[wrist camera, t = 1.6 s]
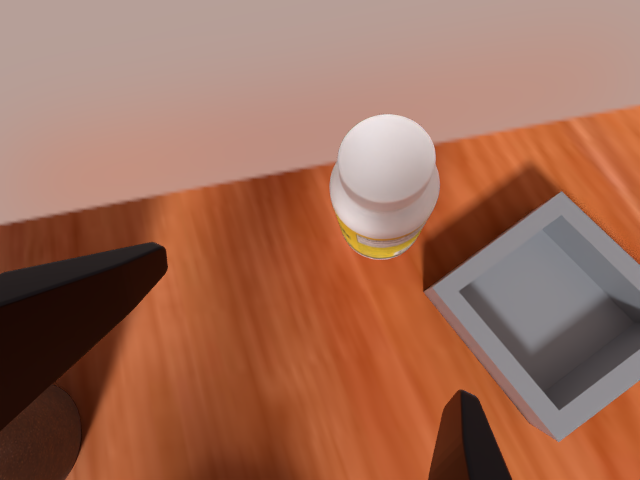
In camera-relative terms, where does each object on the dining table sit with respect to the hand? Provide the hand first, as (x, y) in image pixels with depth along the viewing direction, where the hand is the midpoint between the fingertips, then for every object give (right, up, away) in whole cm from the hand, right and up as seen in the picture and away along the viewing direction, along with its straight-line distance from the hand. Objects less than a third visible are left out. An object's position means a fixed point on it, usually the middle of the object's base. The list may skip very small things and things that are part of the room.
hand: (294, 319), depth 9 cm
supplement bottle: (+5, +3, +14) cm, 15 cm away
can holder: (+14, -2, +11) cm, 18 cm away
